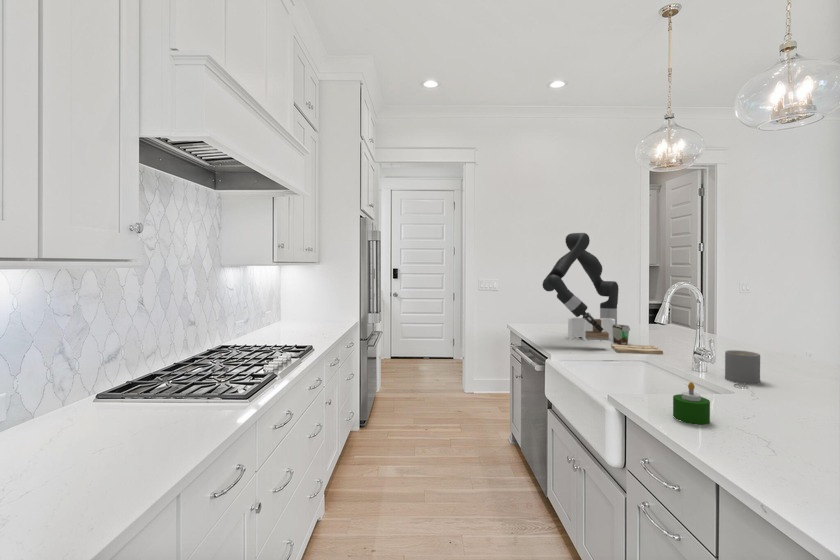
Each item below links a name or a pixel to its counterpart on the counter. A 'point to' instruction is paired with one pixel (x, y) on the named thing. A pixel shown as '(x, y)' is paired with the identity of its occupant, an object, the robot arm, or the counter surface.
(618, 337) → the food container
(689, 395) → the candle
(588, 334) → the block
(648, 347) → the oak board
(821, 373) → the counter surface
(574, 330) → the pale grey segmented block
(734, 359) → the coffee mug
